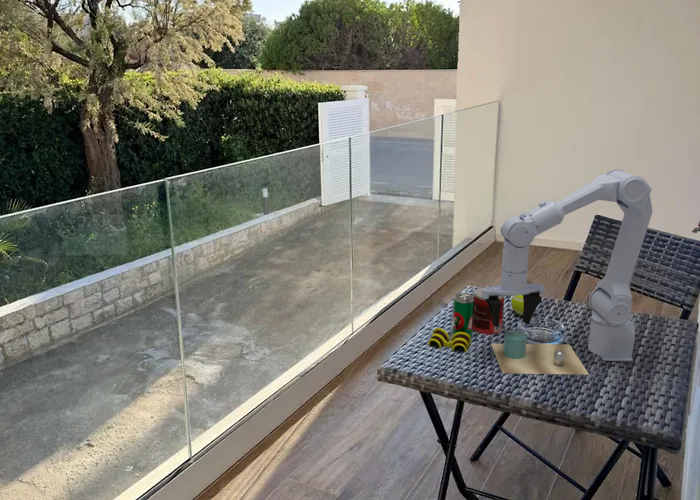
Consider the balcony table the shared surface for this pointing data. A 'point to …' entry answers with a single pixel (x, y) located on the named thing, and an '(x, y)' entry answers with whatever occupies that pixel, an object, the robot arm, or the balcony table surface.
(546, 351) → the birch board
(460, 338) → the opera glasses
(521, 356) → the teal cap
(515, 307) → the tennis ball
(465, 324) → the soda can
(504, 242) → the robot arm
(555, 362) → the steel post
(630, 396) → the balcony table surface
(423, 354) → the balcony table surface
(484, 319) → the canned food
